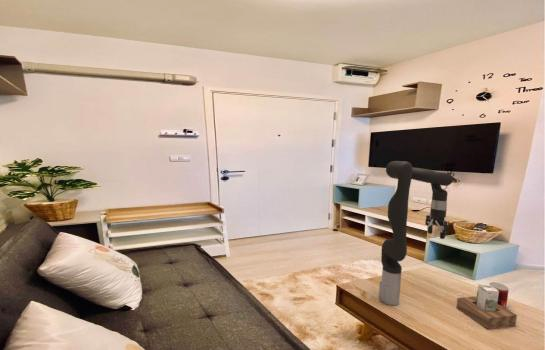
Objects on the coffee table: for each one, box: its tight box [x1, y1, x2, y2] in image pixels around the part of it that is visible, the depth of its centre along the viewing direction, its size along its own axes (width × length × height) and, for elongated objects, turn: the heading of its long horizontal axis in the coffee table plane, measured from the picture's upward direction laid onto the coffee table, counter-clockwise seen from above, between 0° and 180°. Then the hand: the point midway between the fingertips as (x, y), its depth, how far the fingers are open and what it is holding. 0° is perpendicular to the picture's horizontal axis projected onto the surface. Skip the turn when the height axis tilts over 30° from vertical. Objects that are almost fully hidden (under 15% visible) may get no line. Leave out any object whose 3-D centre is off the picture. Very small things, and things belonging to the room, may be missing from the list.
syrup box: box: [476, 284, 499, 312], centre depth 126 cm, size 6×6×14 cm
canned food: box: [488, 281, 509, 309], centre depth 136 cm, size 8×8×11 cm
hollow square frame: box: [456, 295, 518, 330], centre depth 126 cm, size 16×16×6 cm
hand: (435, 236), depth 145 cm, fingers open, 8 cm apart
